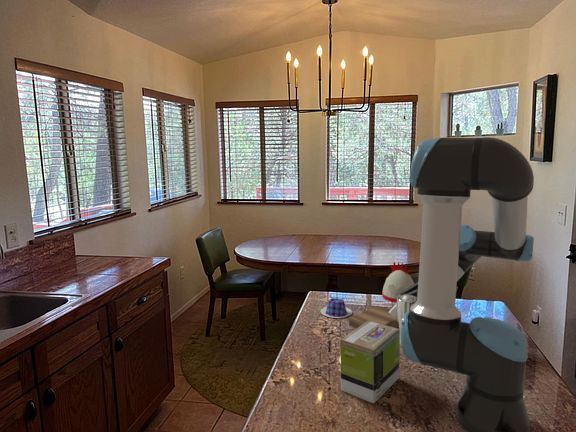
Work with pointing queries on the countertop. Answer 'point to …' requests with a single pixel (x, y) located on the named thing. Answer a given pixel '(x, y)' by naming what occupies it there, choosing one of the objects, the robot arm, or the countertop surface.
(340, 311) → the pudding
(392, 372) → the tea box
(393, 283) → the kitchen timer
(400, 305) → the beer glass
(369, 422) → the countertop surface
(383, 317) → the walnut serving board
